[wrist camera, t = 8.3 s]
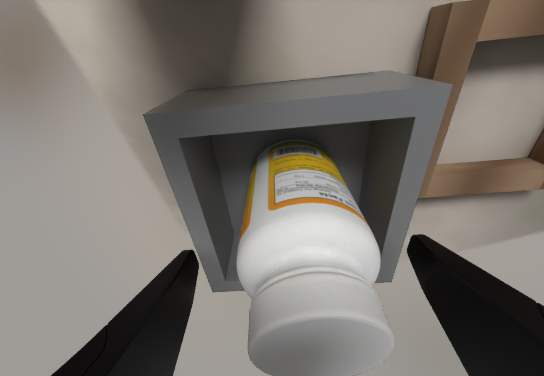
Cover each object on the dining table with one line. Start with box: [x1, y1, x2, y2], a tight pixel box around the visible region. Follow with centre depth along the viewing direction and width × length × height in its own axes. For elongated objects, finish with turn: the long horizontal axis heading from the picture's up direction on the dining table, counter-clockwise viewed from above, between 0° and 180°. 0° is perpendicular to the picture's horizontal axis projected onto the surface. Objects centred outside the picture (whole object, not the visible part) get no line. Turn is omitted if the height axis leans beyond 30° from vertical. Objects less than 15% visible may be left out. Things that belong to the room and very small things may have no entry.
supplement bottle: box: [236, 139, 395, 376], centre depth 10 cm, size 5×5×10 cm
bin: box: [143, 71, 453, 292], centre depth 13 cm, size 11×11×5 cm
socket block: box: [416, 0, 544, 198], centre depth 12 cm, size 10×10×2 cm
